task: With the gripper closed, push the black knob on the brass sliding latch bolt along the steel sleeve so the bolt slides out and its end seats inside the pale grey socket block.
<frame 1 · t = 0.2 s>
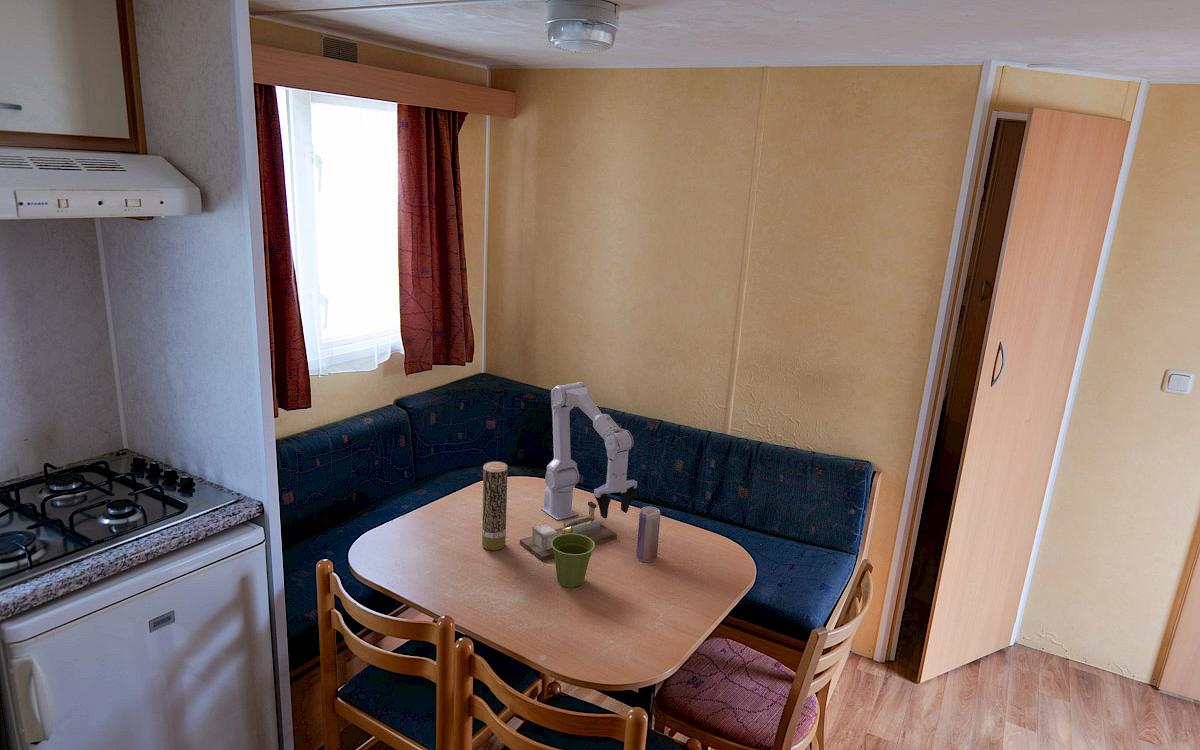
hand: (614, 514, 220), 10 cm above the table, tool pointing down, fingers open, 7 cm apart
base board: (573, 540, 224), on the table
sleeve: (581, 527, 225), on the base board, point 4 cm above the table
plant pot: (570, 581, 202), on the table
socket block: (544, 536, 217), on the base board, point 4 cm above the table
beverage can: (646, 558, 216), on the table
sliding latch bolt: (579, 519, 224), point 6 cm above the table, slide at 0.0 cm
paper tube: (493, 546, 218), on the table
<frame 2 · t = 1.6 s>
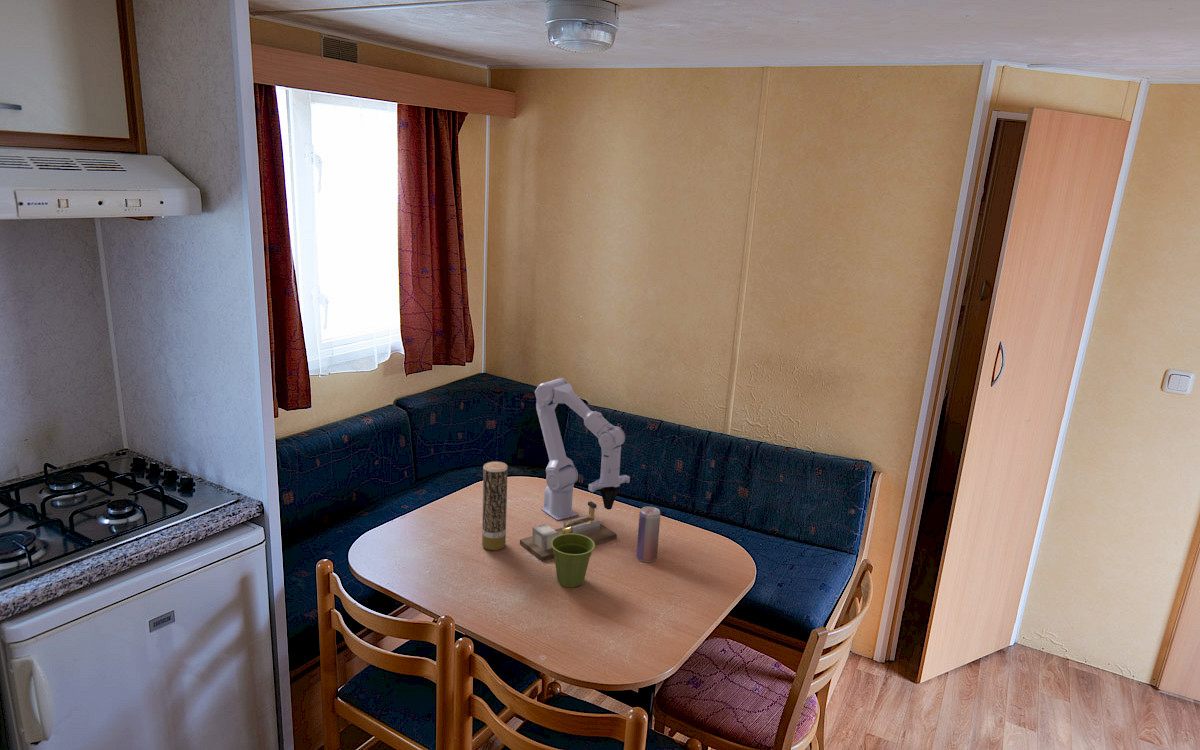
hand: (607, 508, 230), 7 cm above the table, tool pointing down, fingers closed
nothing on the table moved.
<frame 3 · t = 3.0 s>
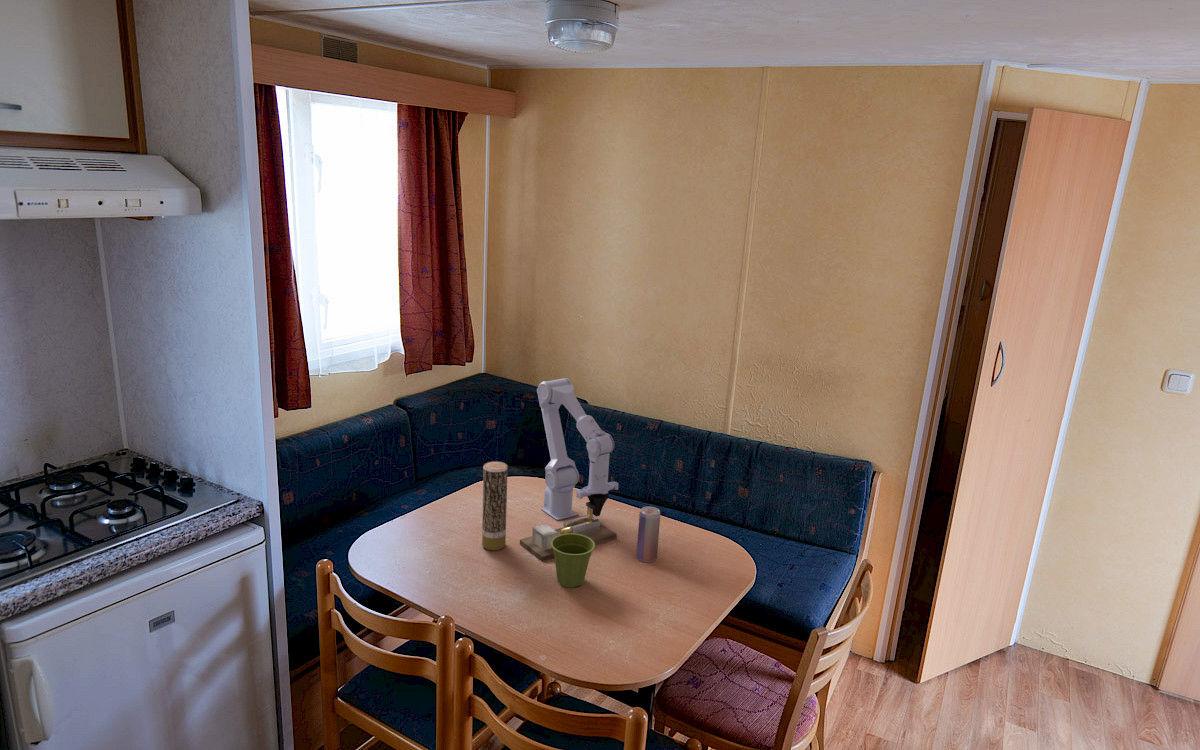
hand: (596, 515, 228), 6 cm above the table, tool pointing down, fingers closed
sliding latch bolt: (577, 519, 224), point 6 cm above the table, slide at 0.7 cm, touching gripper
everything else where it was.
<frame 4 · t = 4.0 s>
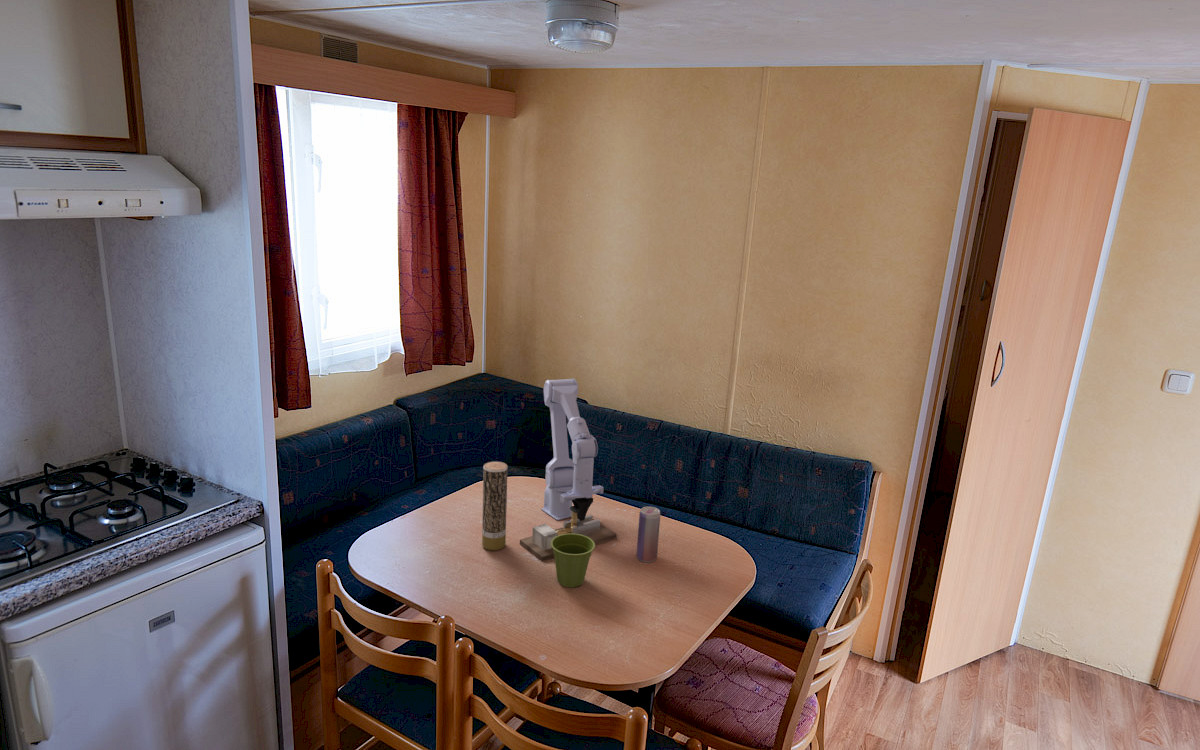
hand: (580, 519, 224), 6 cm above the table, tool pointing down, fingers closed
sliding latch bolt: (561, 524, 220), point 6 cm above the table, slide at 6.5 cm, touching gripper
everything else where it was.
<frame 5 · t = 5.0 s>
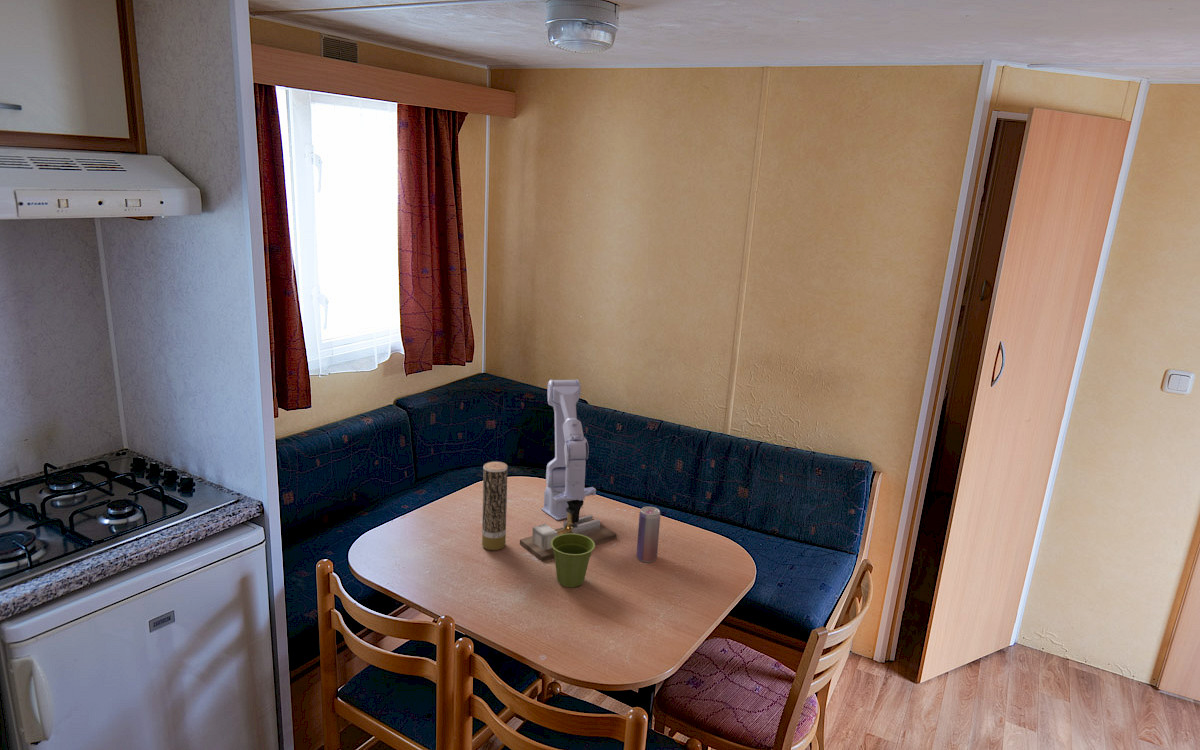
hand: (573, 521, 223), 6 cm above the table, tool pointing down, fingers closed, pressing on sliding latch bolt
sliding latch bolt: (557, 525, 219), point 6 cm above the table, slide at 8.0 cm, touching gripper, socket block
everything else where it was.
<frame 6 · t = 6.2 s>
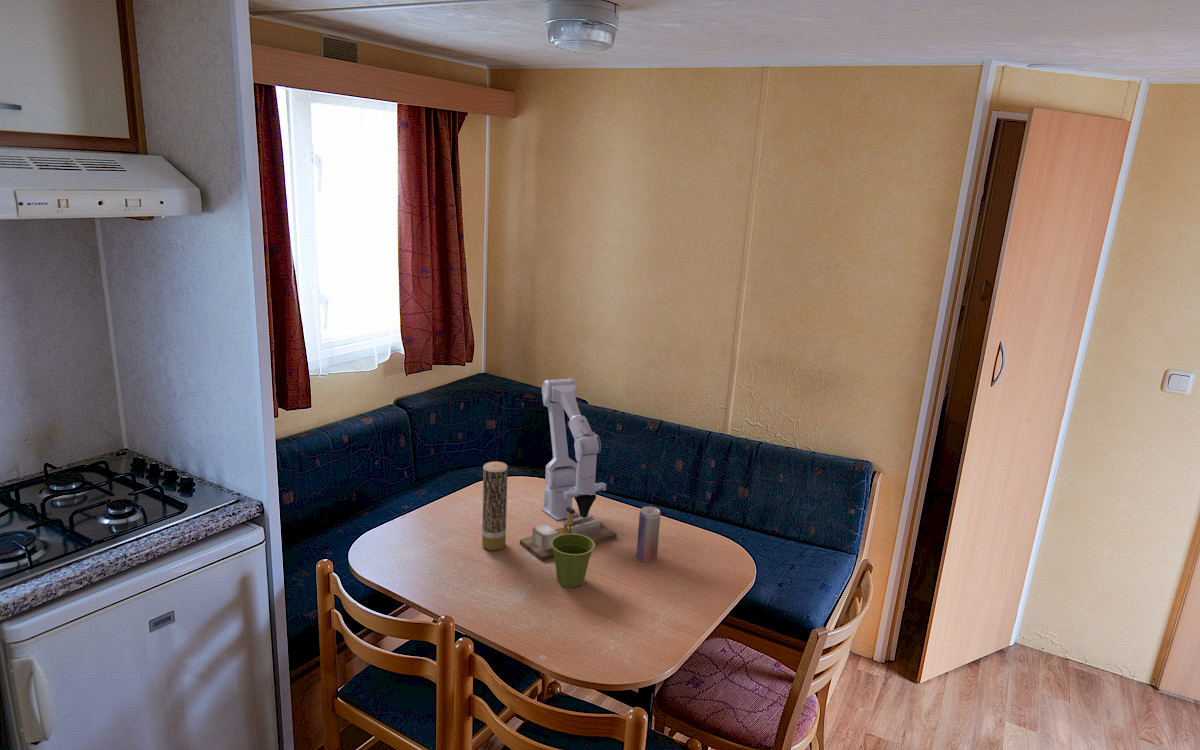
hand: (583, 516, 225), 7 cm above the table, tool pointing down, fingers closed
sliding latch bolt: (557, 525, 219), point 6 cm above the table, slide at 8.0 cm, touching socket block
everything else where it was.
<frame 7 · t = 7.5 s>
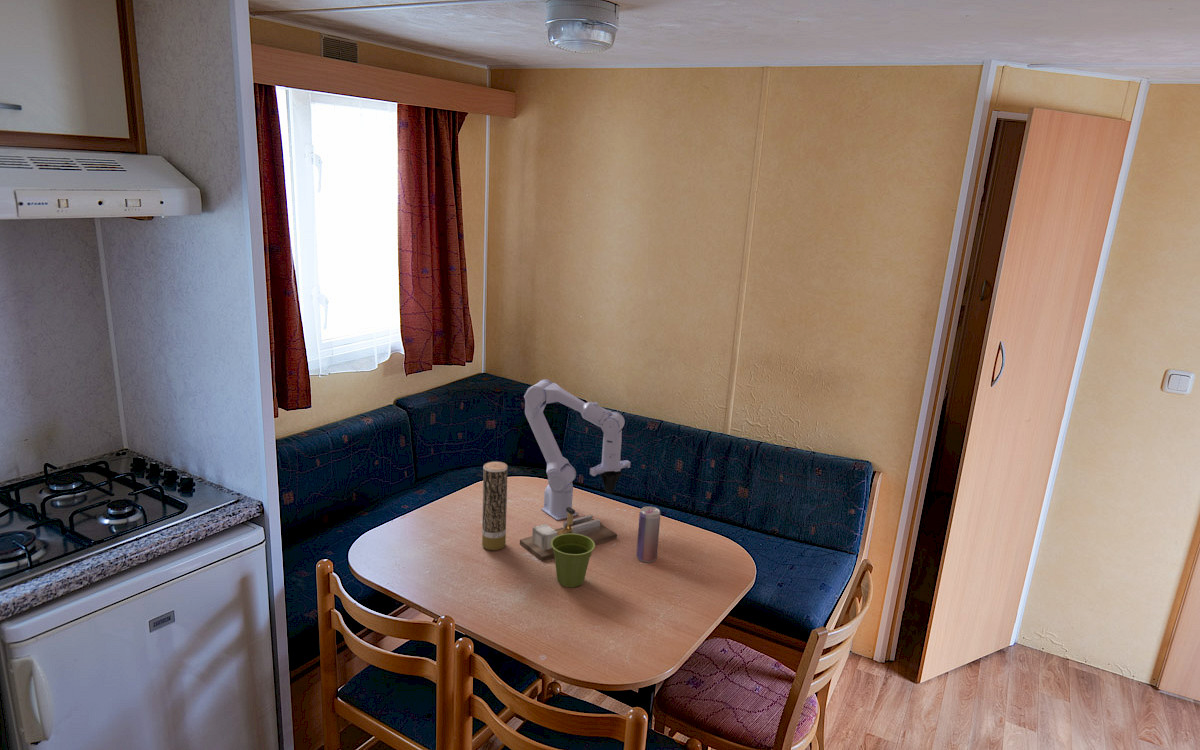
hand: (608, 492, 234), 10 cm above the table, tool pointing down, fingers closed
nothing on the table moved.
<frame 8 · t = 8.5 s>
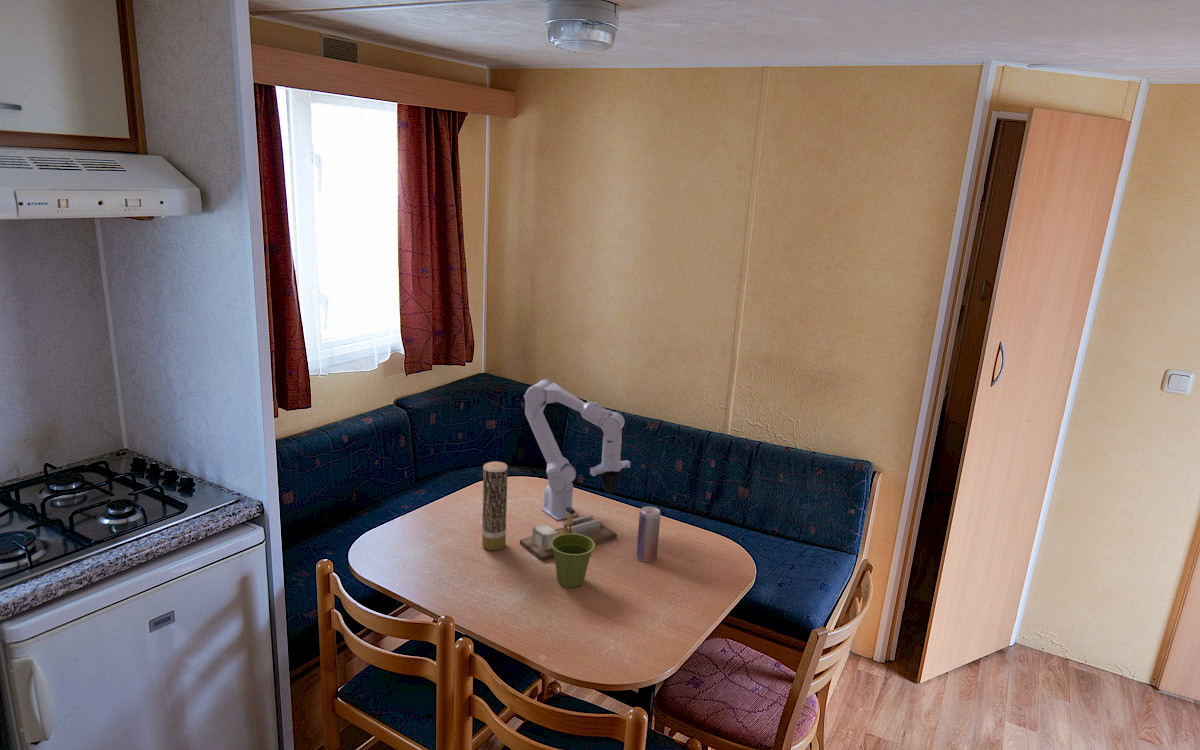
hand: (608, 492, 234), 10 cm above the table, tool pointing down, fingers closed
nothing on the table moved.
at the end: sliding latch bolt slide at 8.0 cm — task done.
